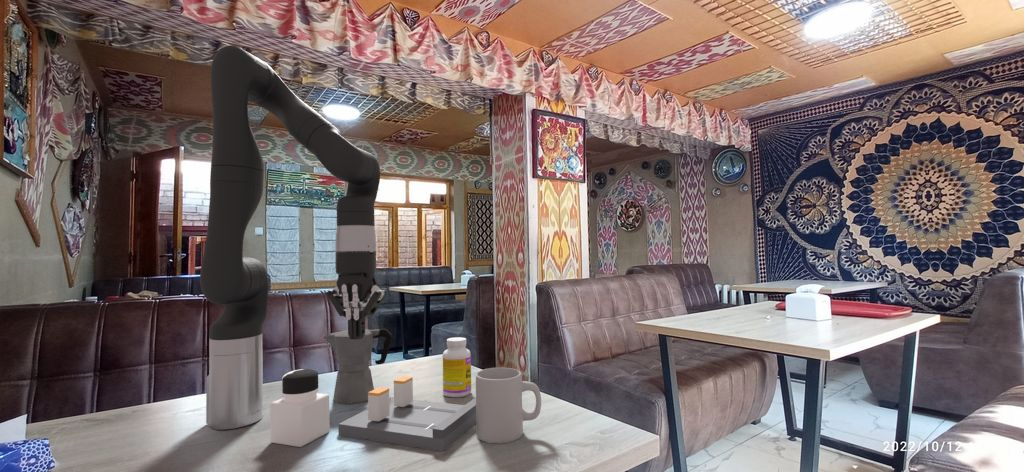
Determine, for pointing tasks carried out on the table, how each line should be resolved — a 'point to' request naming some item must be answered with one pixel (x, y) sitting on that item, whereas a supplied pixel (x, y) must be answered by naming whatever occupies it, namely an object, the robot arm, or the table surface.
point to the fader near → (378, 404)
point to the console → (414, 424)
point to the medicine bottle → (299, 410)
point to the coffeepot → (356, 364)
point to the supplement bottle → (456, 368)
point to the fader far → (403, 391)
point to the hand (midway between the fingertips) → (356, 338)
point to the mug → (502, 404)
